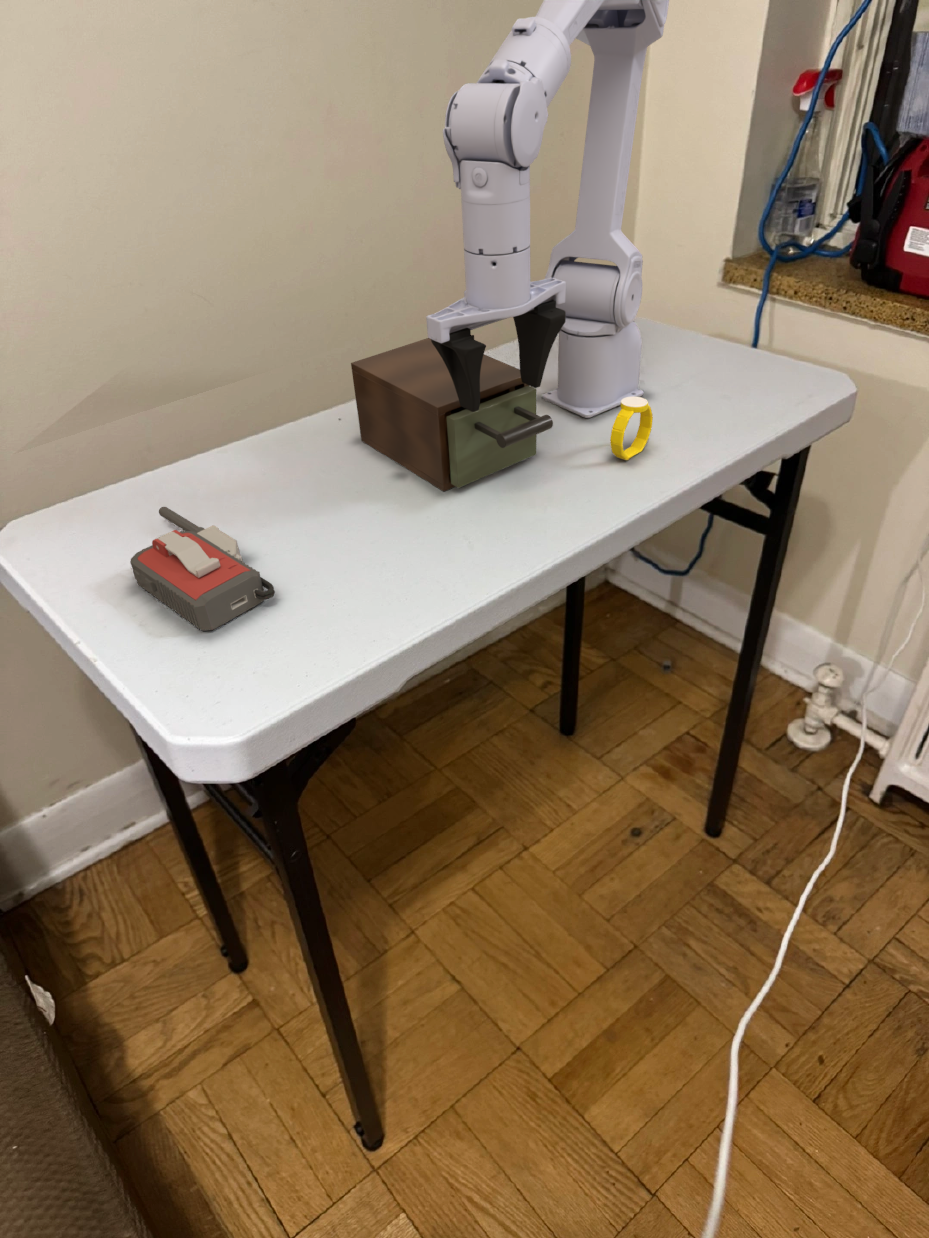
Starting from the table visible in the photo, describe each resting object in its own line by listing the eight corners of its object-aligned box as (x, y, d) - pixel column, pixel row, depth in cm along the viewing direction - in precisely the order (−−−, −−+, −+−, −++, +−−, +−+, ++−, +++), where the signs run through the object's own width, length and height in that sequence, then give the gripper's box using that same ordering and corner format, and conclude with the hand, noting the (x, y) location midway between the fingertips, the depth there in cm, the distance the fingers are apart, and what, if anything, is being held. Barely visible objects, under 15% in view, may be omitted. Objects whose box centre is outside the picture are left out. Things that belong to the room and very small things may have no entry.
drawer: (568, 471, 88) (570, 403, 83) (489, 507, 83) (486, 437, 78) (453, 411, 100) (449, 350, 96) (378, 440, 95) (370, 376, 91)
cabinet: (530, 454, 93) (529, 373, 87) (443, 492, 87) (437, 408, 82) (443, 410, 103) (438, 334, 97) (361, 440, 97) (350, 362, 92)
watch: (625, 469, 89) (629, 415, 86) (602, 462, 91) (605, 408, 87) (656, 447, 93) (661, 395, 89) (634, 440, 94) (638, 388, 90)
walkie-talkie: (298, 593, 75) (174, 517, 86) (289, 551, 72) (162, 478, 84) (212, 643, 70) (93, 555, 81) (199, 599, 67) (78, 515, 79)
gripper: (530, 221, 80) (530, 363, 88) (400, 255, 73) (414, 405, 82) (583, 235, 75) (578, 383, 84) (450, 273, 69) (460, 429, 77)
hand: (500, 396), depth 83 cm, fingers open, 7 cm apart
